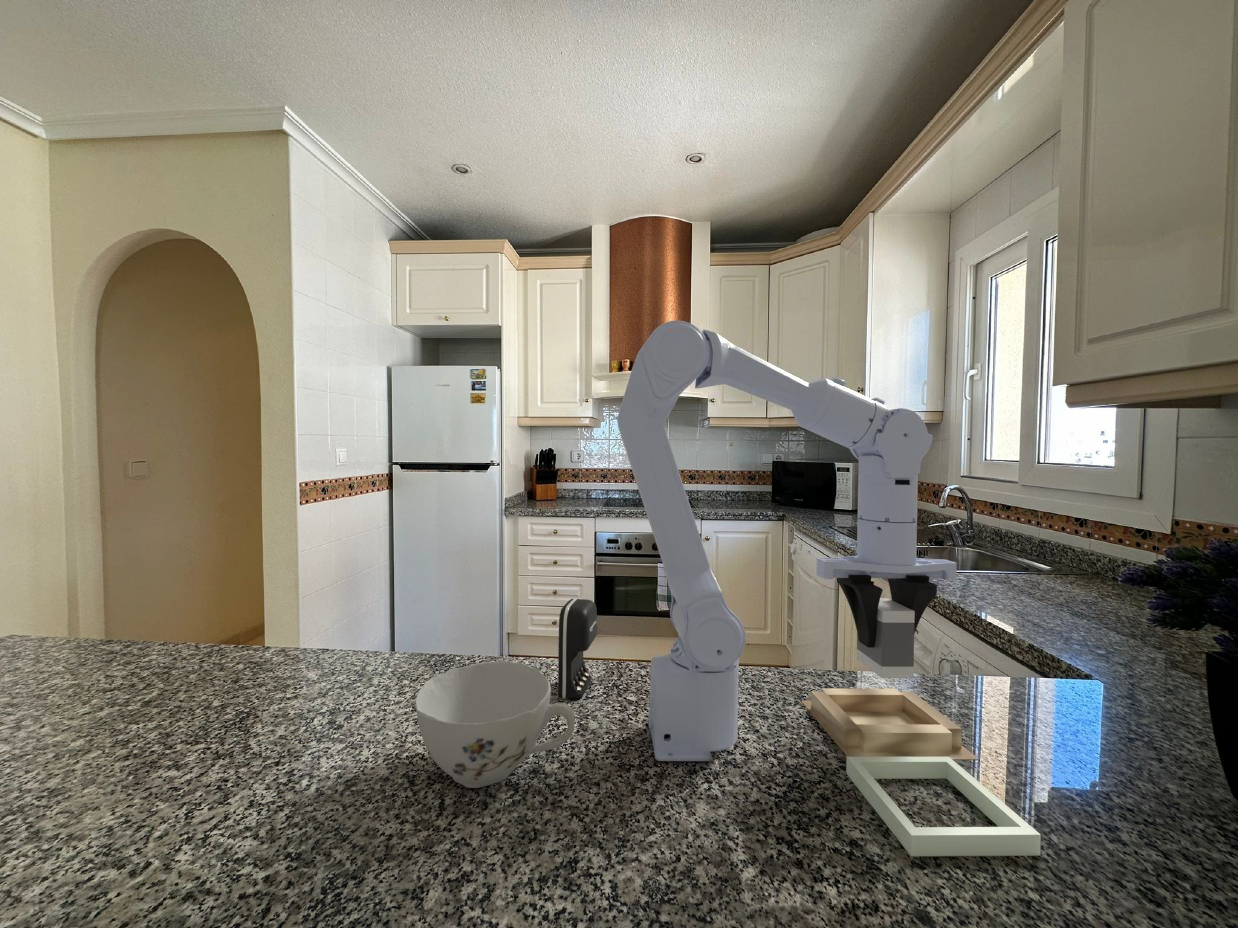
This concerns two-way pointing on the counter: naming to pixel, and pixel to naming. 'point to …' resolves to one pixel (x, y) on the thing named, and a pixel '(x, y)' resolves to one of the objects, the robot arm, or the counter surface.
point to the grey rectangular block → (891, 642)
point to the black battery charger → (575, 646)
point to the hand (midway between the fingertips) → (884, 644)
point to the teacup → (487, 719)
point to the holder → (886, 724)
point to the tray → (943, 841)
